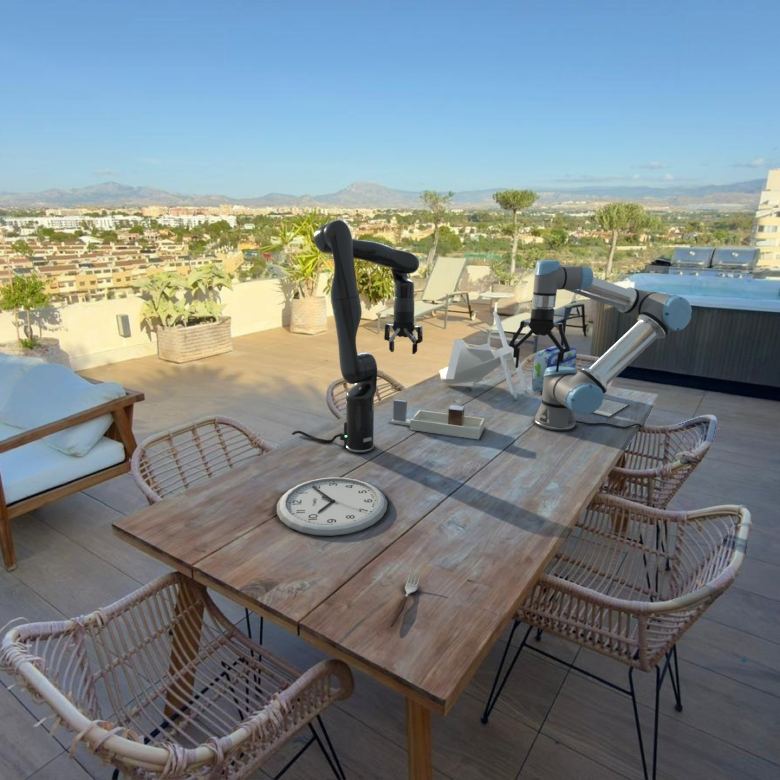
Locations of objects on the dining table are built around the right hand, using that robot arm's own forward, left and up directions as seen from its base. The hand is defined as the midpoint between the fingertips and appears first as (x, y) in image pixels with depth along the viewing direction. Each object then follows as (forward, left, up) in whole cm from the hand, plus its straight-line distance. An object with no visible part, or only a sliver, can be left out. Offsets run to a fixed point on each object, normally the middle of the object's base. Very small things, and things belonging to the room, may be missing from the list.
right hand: (536, 368), depth 181 cm
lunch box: (-19, -64, -27) cm, 72 cm away
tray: (+34, -7, -27) cm, 44 cm away
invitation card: (-36, -43, -27) cm, 62 cm away
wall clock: (+60, +56, -27) cm, 86 cm away
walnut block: (+27, -5, -26) cm, 37 cm away
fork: (+37, +92, -27) cm, 103 cm away
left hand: (+48, -10, +1) cm, 49 cm away
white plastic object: (+15, -55, -27) cm, 63 cm away
